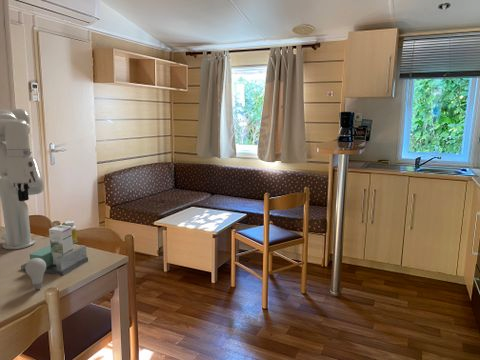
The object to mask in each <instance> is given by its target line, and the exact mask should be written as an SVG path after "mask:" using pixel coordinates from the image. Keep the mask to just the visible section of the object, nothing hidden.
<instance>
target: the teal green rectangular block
mask: <svg viewBox="0 0 480 360" xmlns="http://www.w3.org/2000/svg"><path fill="white" fill-rule="evenodd" d="M34 258H40V259H43V260H44V261H45V263H46V267H48V266H50V265H52V254H51V245H50V244H49V245H47V246H45V247H43V248H40V249H38V250H36V251H33V252H32V253H29V261H30V260H31V259H34Z"/></svg>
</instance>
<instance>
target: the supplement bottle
mask: <svg viewBox="0 0 480 360" xmlns="http://www.w3.org/2000/svg"><path fill="white" fill-rule="evenodd" d="M64 226H71V231H72V242H73V244H76V243H78V236H77V235H78V233H77V226H76V225H75V221H74V220H68V221H65V222H64Z"/></svg>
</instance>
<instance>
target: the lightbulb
mask: <svg viewBox="0 0 480 360" xmlns="http://www.w3.org/2000/svg"><path fill="white" fill-rule="evenodd" d="M26 263H27V264H26ZM26 263H25V264H26V268H25V269H26V270H25V272H26V274H27V275H28V276H29V277H30V279H31V283H32V286H33V289H35V290H41V288H42V287H43V281H44V279H43V278H44V274H45V273H44V272H45V270H46V263H45V261H44V260H43V259H40V258H34V259H31V260H30V259H29V260H28V261H27V262H26Z"/></svg>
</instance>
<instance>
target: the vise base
mask: <svg viewBox="0 0 480 360" xmlns="http://www.w3.org/2000/svg"><path fill="white" fill-rule="evenodd" d="M87 262H89V257H88V255H87V244H86V245H84V244H81V245H79V246H77V247H75V248H73V250H71V251H69V252H67V253H65V254H63V255H61V256H59V257H57V258H56V265H53V264H52V265H50V266H48V267H46V270H45V272H44V274H50V275H57V276H65V275H67V274H69V273H70V272H71V271H74V270H75V269H77V268H79V267H80V266H82V265H84V264H85V263H87ZM27 263H28V262H26V263H24V264H22V265H20V270H22V271H26V269H25V268H26V264H27Z"/></svg>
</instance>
